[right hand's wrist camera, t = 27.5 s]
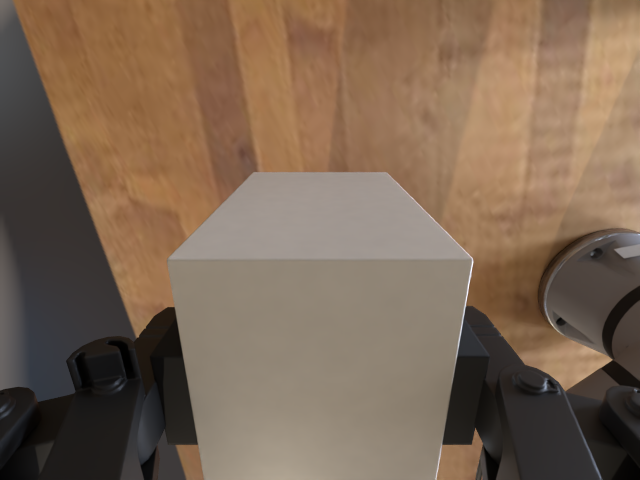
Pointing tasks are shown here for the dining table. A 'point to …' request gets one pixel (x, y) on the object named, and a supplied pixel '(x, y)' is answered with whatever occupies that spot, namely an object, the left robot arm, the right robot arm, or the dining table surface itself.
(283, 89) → the dining table surface
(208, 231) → the brick
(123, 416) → the right robot arm
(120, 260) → the dining table surface
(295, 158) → the dining table surface
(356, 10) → the dining table surface
